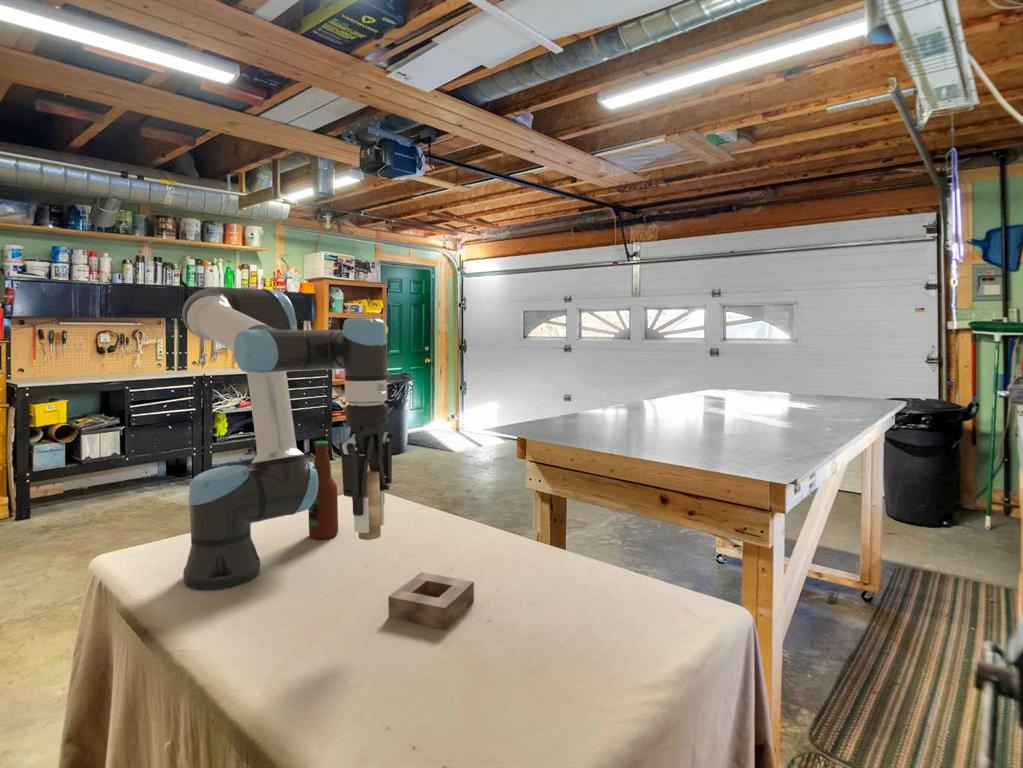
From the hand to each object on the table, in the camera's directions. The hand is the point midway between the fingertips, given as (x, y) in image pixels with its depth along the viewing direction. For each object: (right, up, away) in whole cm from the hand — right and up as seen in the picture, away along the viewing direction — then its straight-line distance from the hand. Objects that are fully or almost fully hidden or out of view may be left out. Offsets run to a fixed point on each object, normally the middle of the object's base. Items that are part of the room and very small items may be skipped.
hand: (369, 527), depth 108 cm
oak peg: (0, -2, 0) cm, 2 cm away
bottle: (-23, -13, +44) cm, 52 cm away
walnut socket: (+11, -17, +4) cm, 21 cm away
